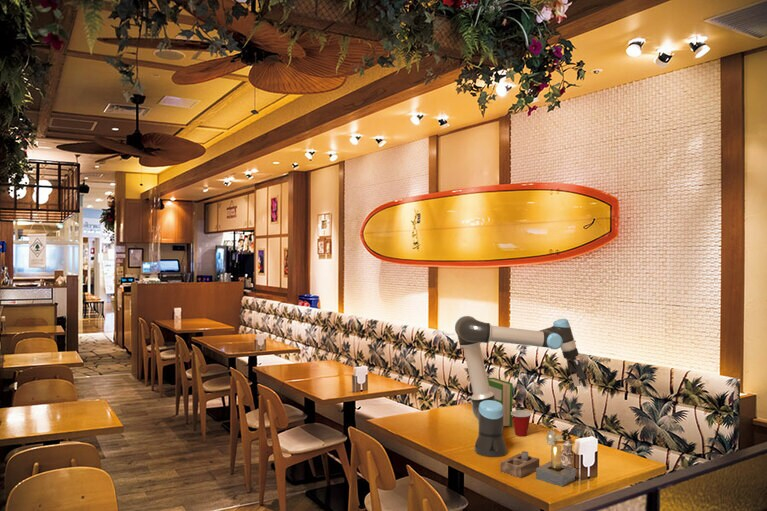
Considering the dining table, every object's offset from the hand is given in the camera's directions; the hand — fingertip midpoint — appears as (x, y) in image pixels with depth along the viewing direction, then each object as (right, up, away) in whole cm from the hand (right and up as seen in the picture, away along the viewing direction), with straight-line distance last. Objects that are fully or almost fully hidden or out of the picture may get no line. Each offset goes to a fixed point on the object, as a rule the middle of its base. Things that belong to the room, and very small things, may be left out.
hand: (581, 389), depth 300 cm
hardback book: (-36, -27, +35) cm, 58 cm away
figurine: (-18, -28, -34) cm, 47 cm away
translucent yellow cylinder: (-27, -27, -49) cm, 62 cm away
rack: (-40, -27, -39) cm, 62 cm away
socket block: (-27, -27, -49) cm, 62 cm away
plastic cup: (-28, -28, +14) cm, 41 cm away
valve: (-12, -28, 0) cm, 30 cm away
